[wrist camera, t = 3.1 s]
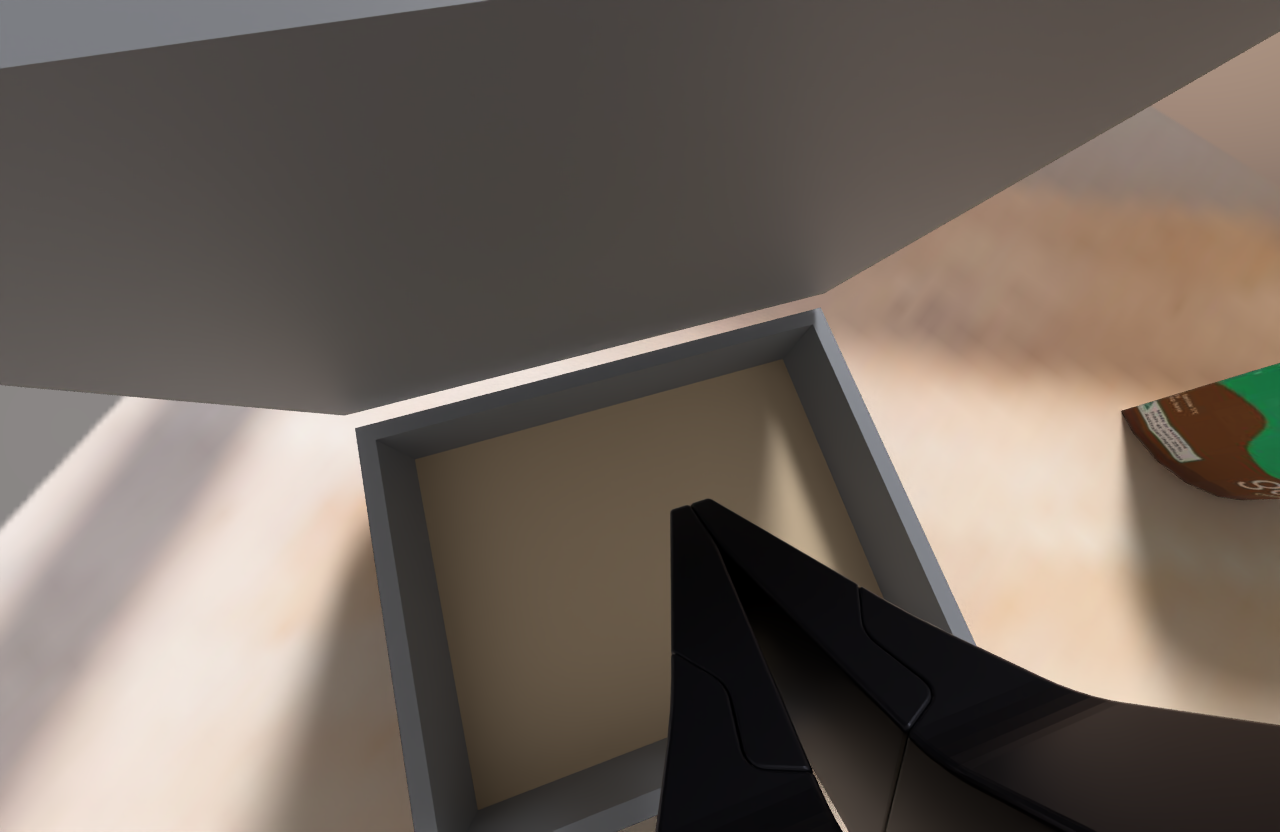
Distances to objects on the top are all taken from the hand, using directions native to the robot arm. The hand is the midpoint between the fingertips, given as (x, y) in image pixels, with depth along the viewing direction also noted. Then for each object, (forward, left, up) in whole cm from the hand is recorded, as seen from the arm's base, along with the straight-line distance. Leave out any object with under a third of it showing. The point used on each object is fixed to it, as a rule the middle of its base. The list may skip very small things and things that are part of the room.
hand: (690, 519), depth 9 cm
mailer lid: (+4, +2, +1) cm, 5 cm away
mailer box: (0, 0, -11) cm, 11 cm away
